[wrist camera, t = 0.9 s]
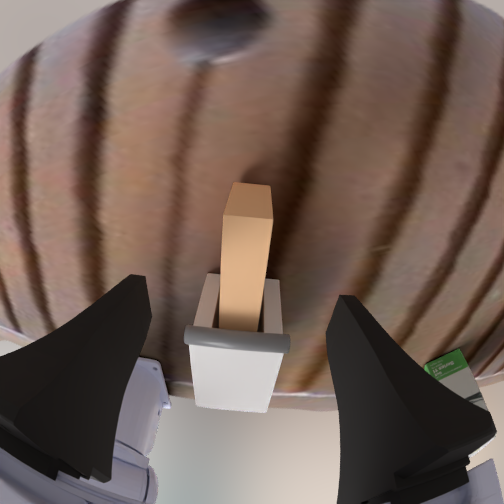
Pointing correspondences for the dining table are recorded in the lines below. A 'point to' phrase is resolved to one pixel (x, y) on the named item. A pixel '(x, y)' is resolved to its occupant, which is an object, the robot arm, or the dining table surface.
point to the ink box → (457, 379)
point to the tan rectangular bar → (244, 255)
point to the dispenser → (236, 352)
